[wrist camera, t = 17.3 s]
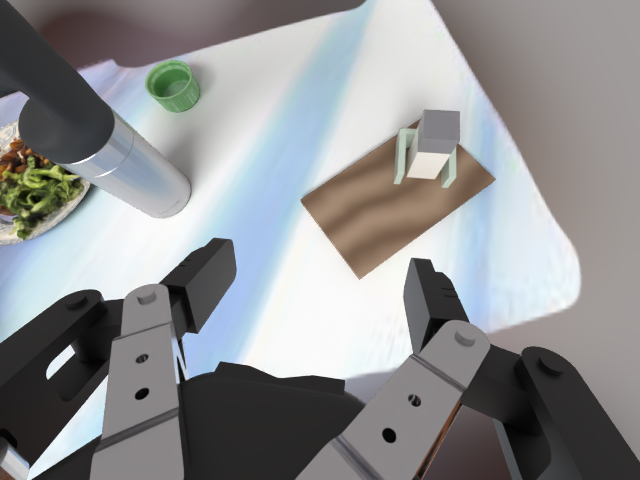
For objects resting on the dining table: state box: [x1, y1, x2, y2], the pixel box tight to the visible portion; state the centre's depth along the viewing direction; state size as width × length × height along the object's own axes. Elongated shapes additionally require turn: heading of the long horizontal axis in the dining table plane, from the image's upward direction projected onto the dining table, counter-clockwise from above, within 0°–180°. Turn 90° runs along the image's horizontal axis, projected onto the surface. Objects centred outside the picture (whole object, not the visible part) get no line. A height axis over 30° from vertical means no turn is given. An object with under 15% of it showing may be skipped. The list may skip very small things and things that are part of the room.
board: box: [301, 119, 496, 280], centre depth 45 cm, size 16×27×1 cm, turn 125°
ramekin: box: [145, 60, 200, 112], centre depth 54 cm, size 9×9×4 cm
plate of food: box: [0, 119, 91, 245], centre depth 50 cm, size 28×28×6 cm
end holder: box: [394, 128, 456, 188], centre depth 44 cm, size 8×8×4 cm
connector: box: [406, 110, 460, 179], centre depth 41 cm, size 4×4×10 cm
